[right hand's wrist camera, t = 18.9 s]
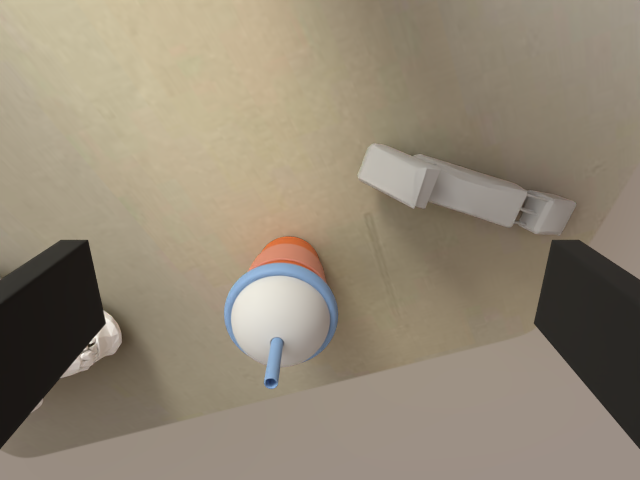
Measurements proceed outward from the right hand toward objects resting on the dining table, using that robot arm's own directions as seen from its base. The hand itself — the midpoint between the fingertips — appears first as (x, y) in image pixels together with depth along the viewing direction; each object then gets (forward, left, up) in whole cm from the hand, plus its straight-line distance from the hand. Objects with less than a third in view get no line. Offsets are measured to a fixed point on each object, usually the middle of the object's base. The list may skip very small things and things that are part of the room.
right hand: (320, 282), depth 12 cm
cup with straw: (0, -13, -29) cm, 32 cm away
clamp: (+14, -1, -29) cm, 32 cm away
